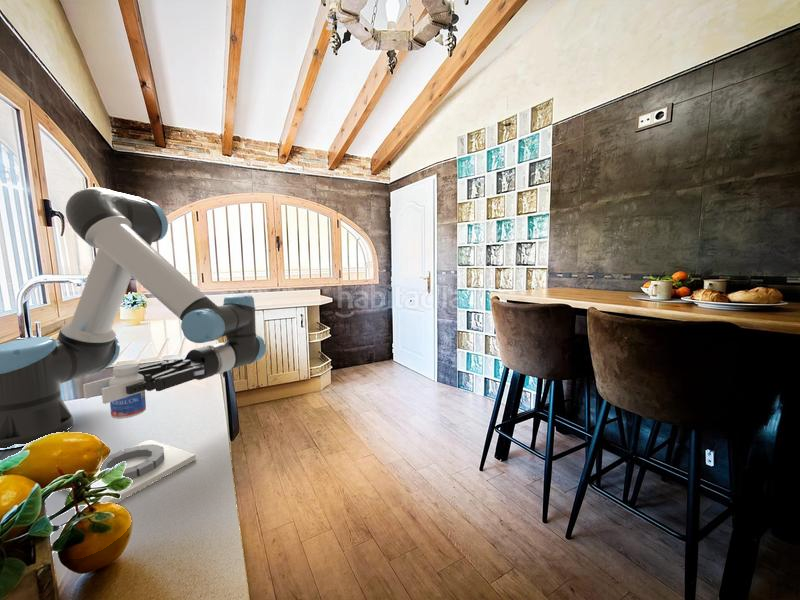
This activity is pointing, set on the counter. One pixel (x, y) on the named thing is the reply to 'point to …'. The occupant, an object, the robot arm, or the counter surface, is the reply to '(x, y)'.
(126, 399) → the pill bottle
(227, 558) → the counter surface
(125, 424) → the counter surface
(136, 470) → the collar plate
